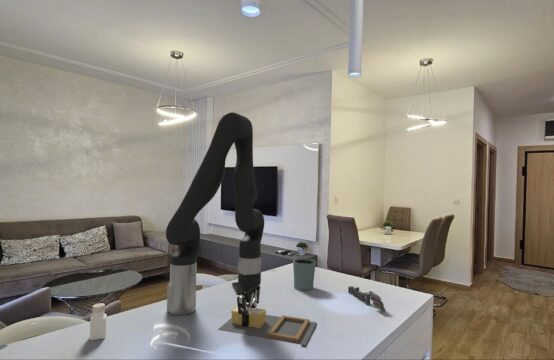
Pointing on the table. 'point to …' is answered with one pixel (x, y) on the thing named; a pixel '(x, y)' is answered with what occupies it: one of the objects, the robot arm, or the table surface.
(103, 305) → the pepper shaker
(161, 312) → the table surface
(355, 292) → the block letters
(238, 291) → the phone
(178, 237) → the robot arm
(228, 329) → the mat
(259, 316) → the card box
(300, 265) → the green cup
